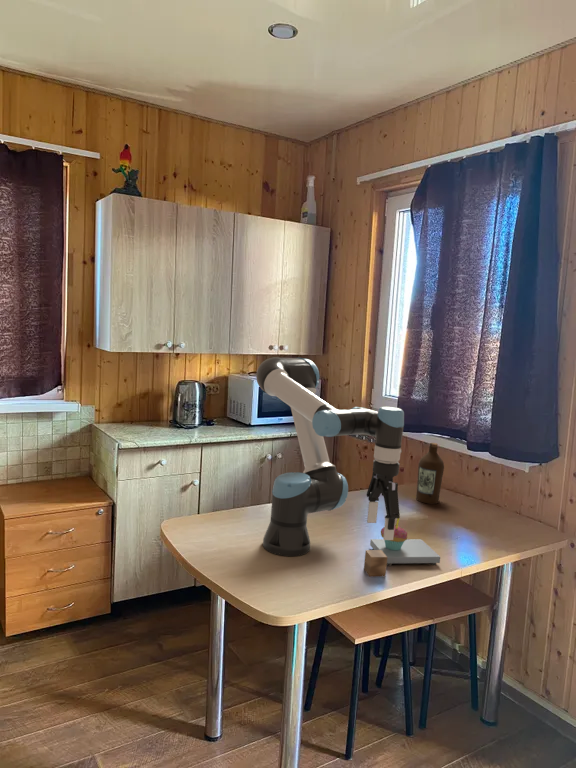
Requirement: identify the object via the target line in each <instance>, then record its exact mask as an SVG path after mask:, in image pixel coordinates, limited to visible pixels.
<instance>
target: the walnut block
mask: <svg viewBox="0 0 576 768" xmlns="http://www.w3.org/2000/svg"><path fill="white" fill-rule="evenodd" d="M364 554H365V555H364V564H363V570H364V572H365V573H366V574H367V576H368V577H374V578H376V577H386V573H387V567H388V566H387V556H386V555H385V554H384V553H383V551H382V550H373V549H365V553H364Z"/></svg>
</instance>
